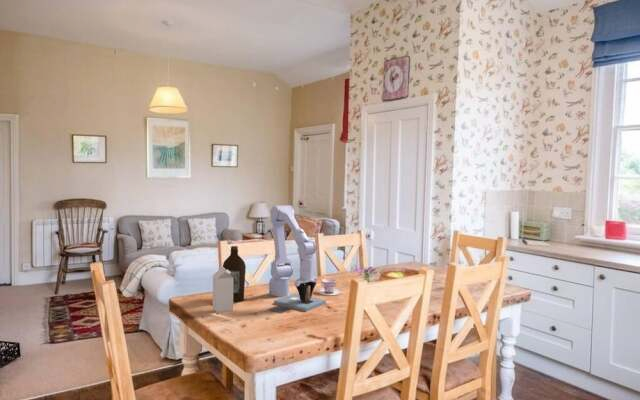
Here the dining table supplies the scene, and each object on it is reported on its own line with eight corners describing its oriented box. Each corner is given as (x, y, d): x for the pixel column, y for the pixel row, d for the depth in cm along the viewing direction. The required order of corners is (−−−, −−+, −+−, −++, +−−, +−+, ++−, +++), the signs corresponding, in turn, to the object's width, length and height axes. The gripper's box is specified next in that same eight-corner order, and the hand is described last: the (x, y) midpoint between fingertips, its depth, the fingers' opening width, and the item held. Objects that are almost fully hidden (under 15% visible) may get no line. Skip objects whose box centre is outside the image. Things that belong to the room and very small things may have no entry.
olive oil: (225, 295, 211) (226, 244, 210) (247, 296, 210) (248, 245, 209) (219, 302, 201) (219, 248, 199) (242, 303, 200) (242, 248, 198)
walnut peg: (299, 303, 196) (299, 285, 195) (304, 301, 199) (304, 284, 199) (306, 305, 193) (307, 287, 193) (311, 303, 197) (312, 285, 196)
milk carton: (216, 314, 183) (216, 269, 182) (212, 309, 190) (212, 266, 188) (233, 312, 187) (233, 268, 185) (228, 307, 193) (228, 265, 192)
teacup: (345, 292, 223) (345, 280, 223) (333, 297, 213) (333, 284, 213) (325, 288, 230) (325, 276, 229) (312, 293, 220) (312, 281, 219)
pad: (266, 311, 188) (266, 309, 188) (278, 307, 195) (278, 305, 195) (280, 315, 184) (280, 313, 184) (292, 311, 190) (292, 308, 190)
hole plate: (274, 305, 197) (274, 300, 197) (294, 298, 209) (294, 292, 209) (306, 314, 187) (306, 307, 187) (326, 305, 199) (326, 299, 199)
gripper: (303, 273, 187) (302, 304, 188) (323, 267, 199) (322, 297, 200) (290, 270, 191) (290, 301, 192) (310, 265, 203) (309, 294, 204)
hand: (305, 299), depth 196 cm, fingers closed on walnut peg, 4 cm apart
